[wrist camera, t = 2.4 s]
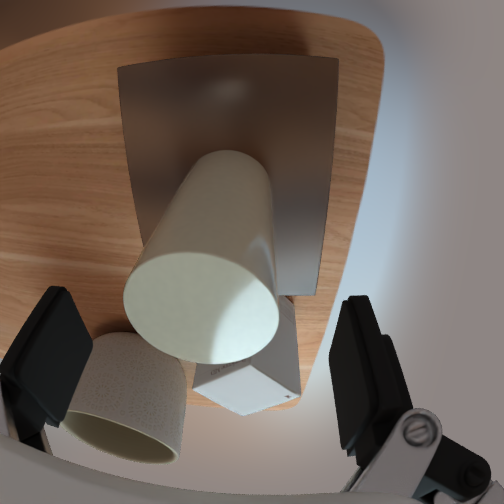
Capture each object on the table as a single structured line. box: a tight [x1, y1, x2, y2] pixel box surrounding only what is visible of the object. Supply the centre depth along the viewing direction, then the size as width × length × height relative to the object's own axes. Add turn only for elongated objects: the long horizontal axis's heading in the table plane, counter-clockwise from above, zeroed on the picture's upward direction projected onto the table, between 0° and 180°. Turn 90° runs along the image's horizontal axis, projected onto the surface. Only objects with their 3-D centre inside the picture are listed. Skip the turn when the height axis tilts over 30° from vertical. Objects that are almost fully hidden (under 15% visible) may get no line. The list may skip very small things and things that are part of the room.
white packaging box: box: [192, 295, 301, 416], centre depth 31 cm, size 7×7×13 cm
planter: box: [60, 332, 187, 464], centre depth 37 cm, size 17×17×15 cm
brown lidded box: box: [117, 54, 339, 296], centre depth 22 cm, size 16×12×10 cm
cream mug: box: [123, 150, 280, 364], centre depth 15 cm, size 7×5×10 cm
